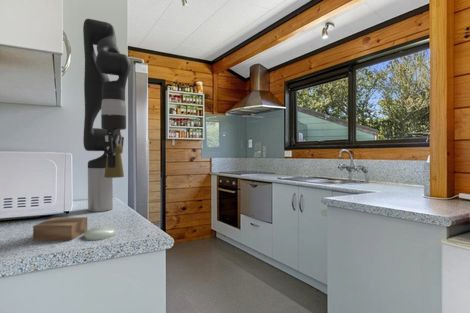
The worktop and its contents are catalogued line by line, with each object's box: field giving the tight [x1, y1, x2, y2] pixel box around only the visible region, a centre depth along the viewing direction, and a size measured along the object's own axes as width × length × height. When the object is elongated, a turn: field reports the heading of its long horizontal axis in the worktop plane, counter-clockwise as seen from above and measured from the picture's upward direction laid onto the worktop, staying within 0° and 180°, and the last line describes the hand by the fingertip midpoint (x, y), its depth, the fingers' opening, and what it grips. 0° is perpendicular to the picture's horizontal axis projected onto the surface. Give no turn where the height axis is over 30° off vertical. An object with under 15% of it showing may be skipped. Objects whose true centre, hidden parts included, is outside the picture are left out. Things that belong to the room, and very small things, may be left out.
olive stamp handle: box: [104, 144, 125, 179], centre depth 98 cm, size 6×6×11 cm
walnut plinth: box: [32, 216, 88, 242], centre depth 86 cm, size 10×10×4 cm
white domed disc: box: [83, 226, 116, 241], centre depth 86 cm, size 8×8×2 cm
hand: (114, 166), depth 98 cm, fingers closed on olive stamp handle, 4 cm apart
